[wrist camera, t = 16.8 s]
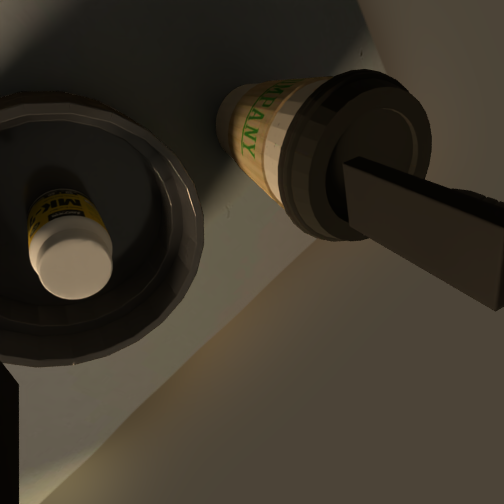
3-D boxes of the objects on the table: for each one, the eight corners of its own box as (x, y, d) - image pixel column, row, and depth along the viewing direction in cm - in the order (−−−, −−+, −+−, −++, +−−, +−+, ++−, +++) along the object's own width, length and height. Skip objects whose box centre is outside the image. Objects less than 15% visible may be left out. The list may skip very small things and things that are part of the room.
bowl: (132, 58, 29) (158, 63, 24) (199, 262, 38) (228, 297, 33) (-156, 139, 24) (-201, 168, 19) (0, 351, 33) (-2, 409, 28)
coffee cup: (297, 48, 34) (449, 56, 22) (304, 166, 39) (432, 223, 27) (182, 70, 31) (289, 92, 19) (205, 195, 36) (302, 275, 24)
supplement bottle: (76, 175, 30) (95, 215, 23) (109, 228, 33) (135, 277, 26) (10, 208, 29) (11, 259, 22) (51, 260, 32) (62, 320, 25)
